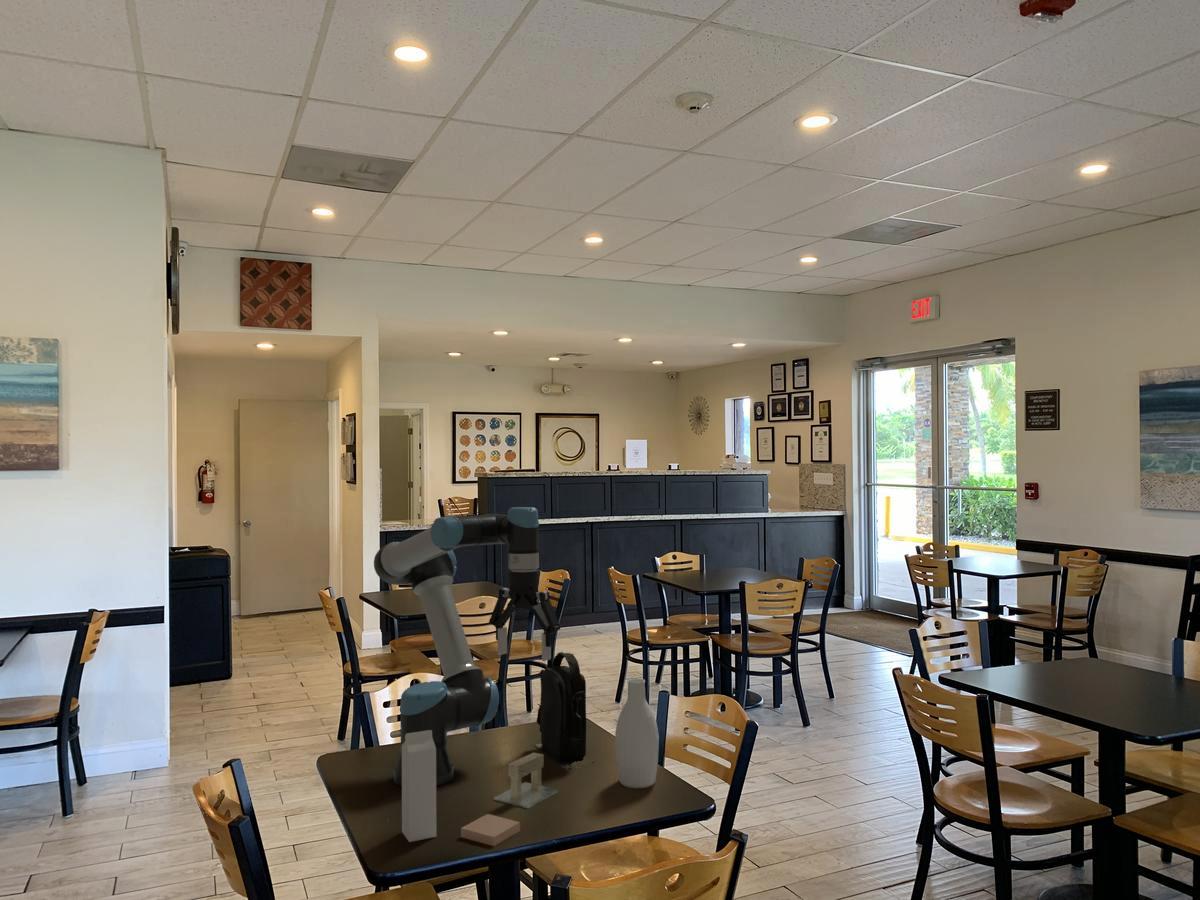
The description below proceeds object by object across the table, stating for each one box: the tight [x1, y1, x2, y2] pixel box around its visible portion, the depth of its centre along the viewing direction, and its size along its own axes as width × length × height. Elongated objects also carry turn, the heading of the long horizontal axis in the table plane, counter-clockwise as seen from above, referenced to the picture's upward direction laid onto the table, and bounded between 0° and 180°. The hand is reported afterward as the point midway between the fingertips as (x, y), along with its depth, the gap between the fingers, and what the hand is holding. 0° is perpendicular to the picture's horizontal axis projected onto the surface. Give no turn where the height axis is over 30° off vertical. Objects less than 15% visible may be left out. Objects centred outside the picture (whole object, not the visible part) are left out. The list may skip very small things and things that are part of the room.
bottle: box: [614, 678, 660, 789], centre depth 219 cm, size 11×11×25 cm
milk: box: [401, 730, 437, 843], centre depth 189 cm, size 6×6×22 cm
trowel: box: [493, 752, 559, 809], centre depth 210 cm, size 12×10×9 cm
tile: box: [460, 813, 521, 847], centre depth 188 cm, size 9×2×9 cm
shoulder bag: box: [535, 651, 587, 771], centre depth 241 cm, size 23×9×28 cm, turn 25°
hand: (524, 657), depth 214 cm, fingers open, 13 cm apart
